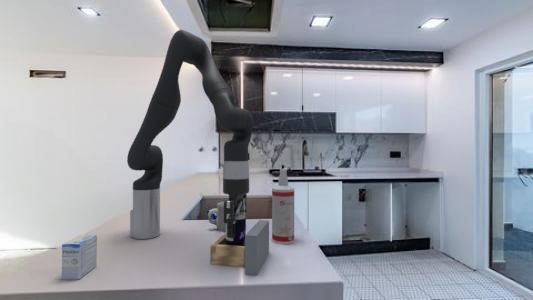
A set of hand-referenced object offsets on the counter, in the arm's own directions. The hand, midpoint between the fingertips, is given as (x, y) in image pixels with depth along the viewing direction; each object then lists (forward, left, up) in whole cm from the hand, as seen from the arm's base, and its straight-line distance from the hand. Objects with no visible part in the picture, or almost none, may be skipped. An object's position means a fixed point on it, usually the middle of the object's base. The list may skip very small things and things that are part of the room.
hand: (236, 233), depth 82 cm
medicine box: (-36, -17, -8) cm, 41 cm away
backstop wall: (+7, -2, -7) cm, 10 cm away
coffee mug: (-14, +30, -8) cm, 34 cm away
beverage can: (0, 0, -6) cm, 7 cm away
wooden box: (0, 0, -7) cm, 7 cm away
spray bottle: (+11, +19, -8) cm, 23 cm away
